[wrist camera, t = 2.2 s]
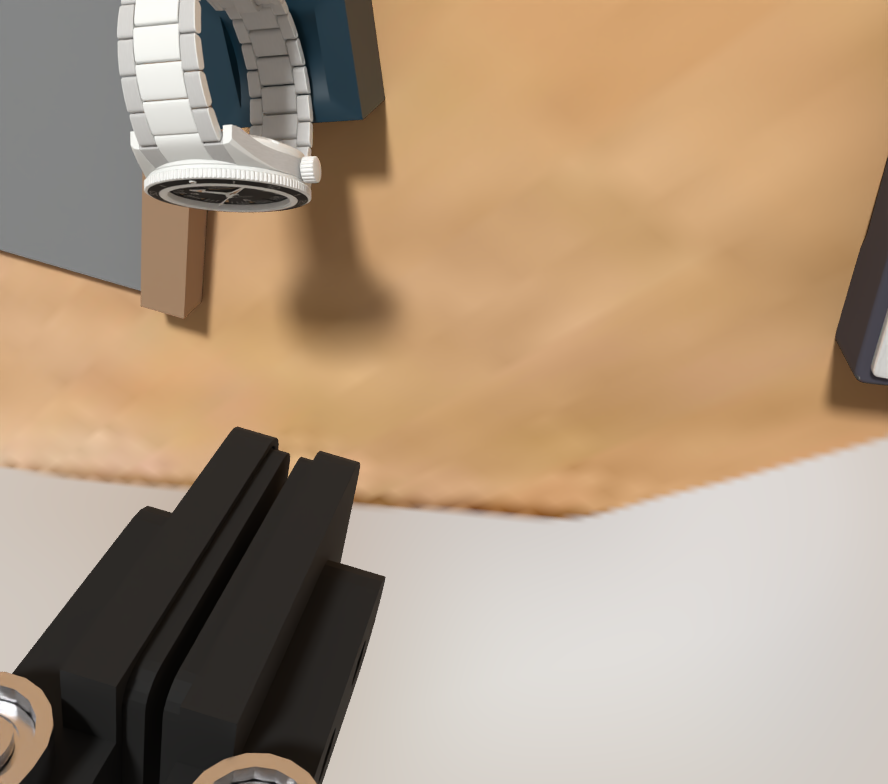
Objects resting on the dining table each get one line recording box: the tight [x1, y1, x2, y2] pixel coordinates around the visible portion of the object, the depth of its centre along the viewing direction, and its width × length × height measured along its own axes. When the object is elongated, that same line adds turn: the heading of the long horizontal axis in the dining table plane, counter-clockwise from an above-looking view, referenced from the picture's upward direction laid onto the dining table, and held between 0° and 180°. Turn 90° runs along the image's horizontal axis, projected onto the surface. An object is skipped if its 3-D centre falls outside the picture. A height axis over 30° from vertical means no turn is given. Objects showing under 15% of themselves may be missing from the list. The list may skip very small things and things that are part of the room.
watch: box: [117, 0, 385, 212], centre depth 27 cm, size 6×8×11 cm
